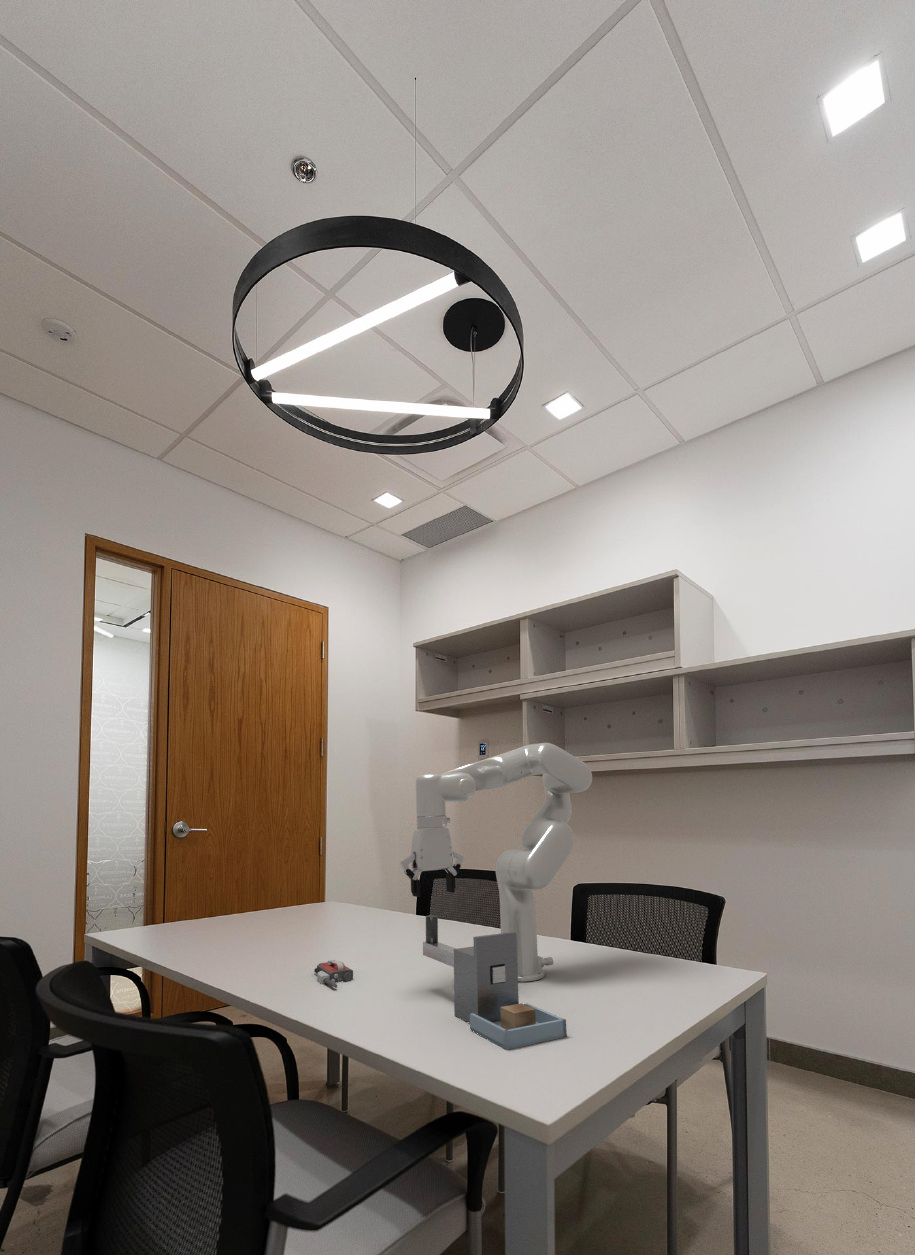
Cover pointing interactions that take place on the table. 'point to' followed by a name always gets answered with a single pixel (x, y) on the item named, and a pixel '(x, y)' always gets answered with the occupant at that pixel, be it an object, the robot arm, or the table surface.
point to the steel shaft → (450, 950)
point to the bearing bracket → (485, 977)
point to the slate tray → (521, 1030)
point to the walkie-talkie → (333, 973)
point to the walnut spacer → (517, 1016)
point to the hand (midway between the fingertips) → (433, 894)
